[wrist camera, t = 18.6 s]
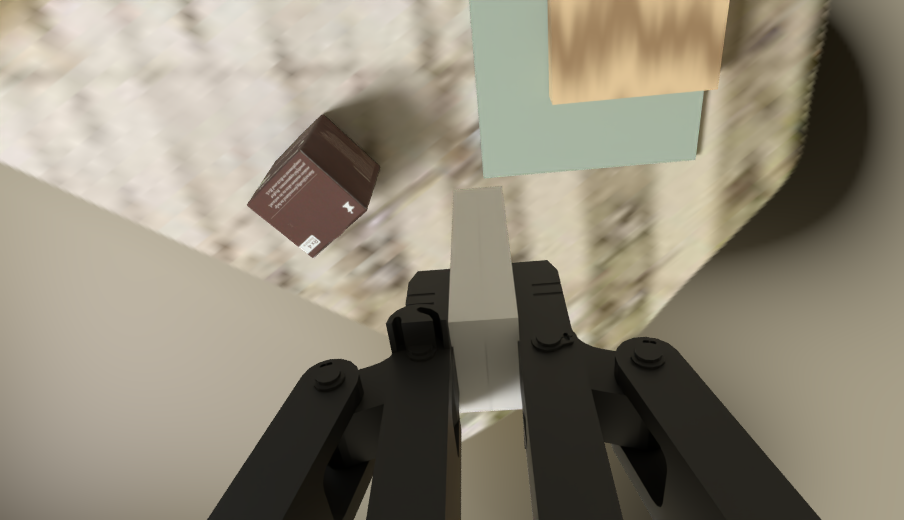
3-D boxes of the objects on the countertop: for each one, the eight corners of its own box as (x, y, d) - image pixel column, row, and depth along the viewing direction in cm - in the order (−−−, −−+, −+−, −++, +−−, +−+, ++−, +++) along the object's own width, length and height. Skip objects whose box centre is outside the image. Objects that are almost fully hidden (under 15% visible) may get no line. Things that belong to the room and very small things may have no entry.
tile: (550, -24, 36) (735, -44, 35) (546, -28, 38) (722, -47, 37) (552, 105, 40) (717, 89, 40) (548, 95, 42) (706, 80, 42)
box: (324, 110, 44) (300, 147, 38) (382, 166, 46) (370, 209, 40) (273, 162, 46) (243, 205, 40) (331, 213, 48) (312, 261, 42)
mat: (458, -129, 36) (458, -130, 35) (730, -163, 35) (734, -164, 34) (483, 175, 46) (483, 178, 46) (692, 156, 45) (695, 159, 45)
